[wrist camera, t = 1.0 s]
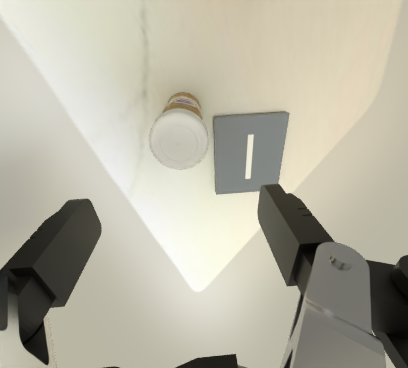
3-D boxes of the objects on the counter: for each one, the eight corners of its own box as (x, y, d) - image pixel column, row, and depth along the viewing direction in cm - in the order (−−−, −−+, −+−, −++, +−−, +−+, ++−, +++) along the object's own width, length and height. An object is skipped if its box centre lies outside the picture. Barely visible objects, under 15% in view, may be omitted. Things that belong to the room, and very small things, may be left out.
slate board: (213, 116, 27) (214, 118, 26) (285, 111, 27) (289, 113, 26) (215, 190, 33) (216, 194, 32) (274, 185, 33) (277, 189, 32)
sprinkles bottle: (199, 90, 25) (207, 110, 14) (201, 126, 28) (210, 169, 16) (163, 93, 25) (141, 115, 14) (168, 129, 28) (154, 173, 16)
